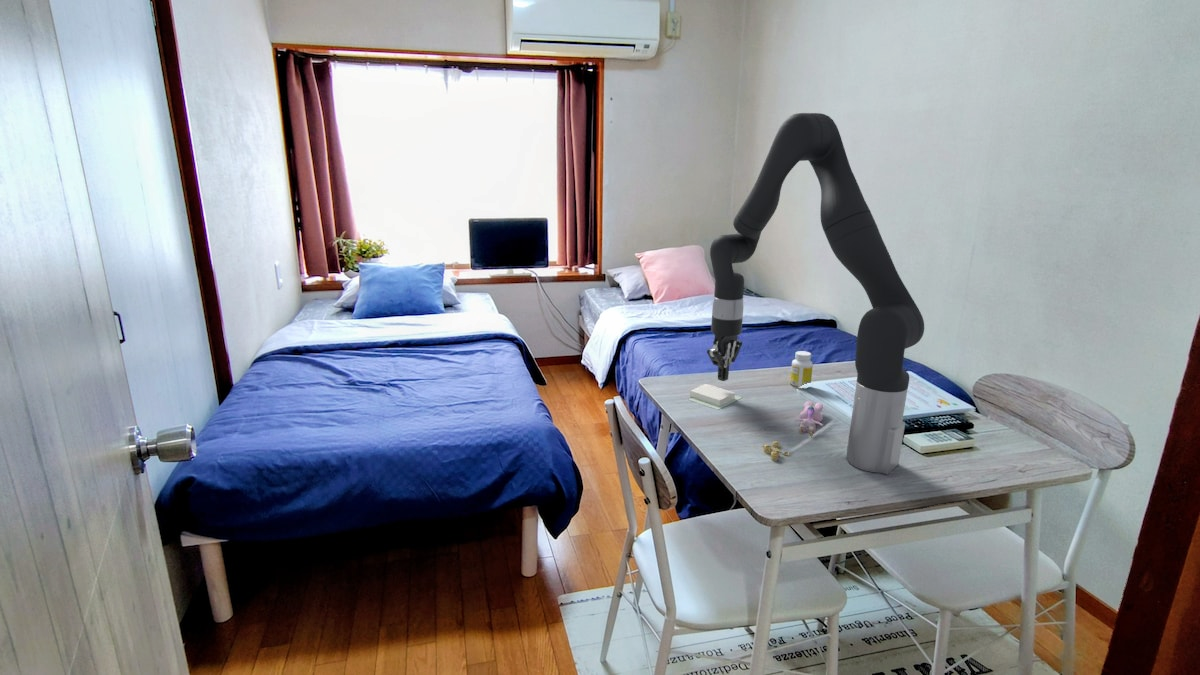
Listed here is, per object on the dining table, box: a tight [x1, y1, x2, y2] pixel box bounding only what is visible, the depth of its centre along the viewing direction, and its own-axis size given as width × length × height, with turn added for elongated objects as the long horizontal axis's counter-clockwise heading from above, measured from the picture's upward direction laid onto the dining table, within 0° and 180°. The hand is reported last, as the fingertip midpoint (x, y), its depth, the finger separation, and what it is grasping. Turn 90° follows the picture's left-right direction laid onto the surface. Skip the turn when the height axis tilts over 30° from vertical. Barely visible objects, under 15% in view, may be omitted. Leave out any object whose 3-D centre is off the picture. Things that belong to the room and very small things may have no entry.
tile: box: [689, 383, 736, 406], centre depth 154 cm, size 7×2×9 cm
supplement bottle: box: [789, 350, 814, 390], centre depth 162 cm, size 5×5×10 cm
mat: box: [688, 394, 743, 411], centre depth 153 cm, size 18×16×1 cm
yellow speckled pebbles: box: [763, 440, 790, 462], centre depth 127 cm, size 5×5×2 cm
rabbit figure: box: [794, 400, 824, 438], centre depth 140 cm, size 6×6×15 cm
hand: (722, 379), depth 154 cm, fingers closed
